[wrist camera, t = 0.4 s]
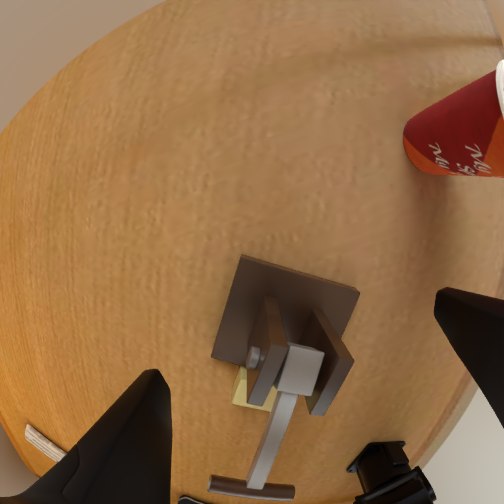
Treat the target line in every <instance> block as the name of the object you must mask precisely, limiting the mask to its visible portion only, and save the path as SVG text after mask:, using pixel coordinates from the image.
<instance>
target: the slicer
mask: <svg viewBox="0 0 504 504" xmlns="http://www.w3.org/2000/svg"><path fill="white" fill-rule="evenodd" d="M359 295H360V292H359V291H358V290H357V289H356V288H354V287H350V286H347V285H344V284H340V283H337V282H333V281H330V280H327V279H323V278H320V277H317V276H313V275H310V274H307V273H303V272H300V271H297V270H293V269H290V268H287V267H283V266H280V265H277V264H273V263H270V262H267V261H263V260H260V259H257V258H253V257H250V256H247V255H243V254H241V257H240V260H239V264H238V267H237V270H236V273H235V277H234V280H233V283H232V287H231V290H230V293H229V296H228V300H227V303H226V306H225V310H224V313H223V316H222V320H221V323H220V326H219V330H218V333H217V336H216V340H215V343H214V346H213V350H212V354H211V357H212V358H216V359H219V360H223V361H227V362H230V363H234V364H238V365H242V366H246V368H247V395H246V403H247V404H251V405H256V406H261V407H262V406H263V404H264V402H265V400H266V398H267V396H268V394H269V392H270V389H271V387H272V385H273V383H274V381H275V378H276V376H277V374H278V372H279V369H280V367H281V365H282V363H283V360H284V358H285V356H286V353H287V351H288V349H289V347H288V343H287V342H290V343H294V344H299V345H303V346H308V347H312V348H314V349H316V350H319V351H321V352H324V357H323V360H322V364H321V367H320V370H319V374H318V377H317V380H316V383H315V386H314V389H313V392H312V395H311V396H305V395H304V396H305V400H306V403H307V407H308V411H309V414H310V415H318V416H324V414H325V413H326V411H327V409H328V408H329V406H330V404H331V403H332V401H333V399H334V398H335V396H336V394H337V392H338V391H339V389H340V387H341V385H342V384H343V382H344V380H345V378H346V376H347V375H348V373H349V371H350V369H351V367H352V365H353V363H354V359H353V358H352V356H351V354H350V353H349V351H348V349H347V348H346V346H345V345H344V343H343V341H342V340H341V337H342V335H343V332H344V330H345V328H346V326H347V323H348V321H349V319H350V317H351V314H352V312H353V309H354V307H355V305H356V302H357V300H358V297H359Z"/></svg>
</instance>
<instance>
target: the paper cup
mask: <svg viewBox="0 0 504 504" xmlns="http://www.w3.org/2000/svg"><path fill="white" fill-rule="evenodd" d="M403 141H404V147H405V150H406V153H407V155H408V157H409V159H410V160H411V162H412V163H413V164H414V165H415V166H416V167H417V168H418V169H419V170H421V171H422V172H425V173H428V174H437V175H462V176H484V177H500V178H504V60H502V61H500V62H499V64H498V66H497V69H496V70H494V71H493V72H491V73H489V74H487V75H485V76H483V77H481V78H480V79H478V80H476V81H474V82H472V83H470V84H469V85H467V86H465V87H463V88H461V89H460V90H458V91H456V92H454V93H452V94H451V95H449V96H447V97H445V98H444V99H442V100H440V101H439V102H437V103H435V104H433V105H432V106H430V107H428V108H427V109H425V110H423V111H422V112H420V113H419V114H417V115H415V116H414V117H413V118H411V119H410V120H409V121H408V122H407V124H406V126H405V129H404V133H403Z"/></svg>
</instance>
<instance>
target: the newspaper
mask: <svg viewBox="0 0 504 504" xmlns="http://www.w3.org/2000/svg"><path fill="white" fill-rule="evenodd" d="M25 436H26V439H27V440H28V441H29V442H31V443H32V444H33V445H34V446H36V447H37V448H38V449H39V450H41V451H42V452H43V453H45V454H46V455H47V456H49V457H50V458H51V459H53V460H54V461H56V462H57V463H58V462H59V461H60V460H61V459H62V458H63V457H64V456H65V455H66V454H67V453H66V452H65V451H63V450H62V449H60V448H59V447H58V446H56V445H55V444H53V443H52V442H51V441H49V440H48V439H47V438H46V437H44V436H43V435H42V434H40V433H39V432H38V431H37V430H35V429H34V428H33V427H32V426H31V425H29V424H28V425H27V426H26V430H25Z"/></svg>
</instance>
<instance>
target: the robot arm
mask: <svg viewBox="0 0 504 504" xmlns="http://www.w3.org/2000/svg"><path fill="white" fill-rule="evenodd" d="M434 316H435V318H436V320H437V322H438V323H439V325H440V327H441V328H442V330H443V332H444V333H445V335H446V337H447V338H448V340H449V342H450V344H451V345H452V347H453V349H454V350H455V352H456V353H457V355H458V356H459V358H460V359H461V361H462V362H463V363H464V365H465V366H466V368H467V369H468V371H469V372H470V374H471V375H472V377H473V378H474V380H475V381H476V383H477V384H478V386H479V388H480V389H481V390H482V392H483V394H484V395H485V397H486V399H487V400H488V402H489V404H490V405H491V407H492V409H493V410H494V412H495V414H496V416H497V417H498V419H499V421H500V423H501V425H502V426H503V428H504V300H501V299H497V298H493V297H489V296H484V295H480V294H476V293H472V292H467V291H463V290H459V289H454V288H450V287H445V288H443V289H441V290H439V291H438V292H437V293H436V299H435V306H434ZM405 444H406V443H405V441H395V442H372V443H369V444H368V445H367V446H366V448H365V449H364V450H363V451H362V452H361V454H360V455H359V456H358V457H357V458H356V459H355V461H354V462H353V463H352V464H351V465H350V466H349V467H348V468H347V472H348V473H354V472H357V475H358V477H359V480H360V483H361V486H362V489H363V492H364V494H362V495H360V496H359V495H358V496H356V497H355V500H356V501H354V502H353V504H433V501H435V500H436V495H435V493H434V491H433V488H432V487H431V485H430V483H429V481H428V480H427V478H426V477H425V475H424V474H423V472H422V470H421V469H420V467H419V466H416V467H415V468H414V469H412V470H411V468H410V466H409V464H408V463H409V460H408V458H407V456H406V454H405V452H404V451H403V449H402V448H403V447H404V445H405ZM171 455H172V416H171V393H170V388H169V386H168V384H167V383H166V381H165V379H164V378H163V376H162V374H161V373H160V371H159V370H158V369H149V370H145V371H143V372H142V373H141V375H140V376H139V377H138V378H137V379H136V380H135V381H134V382H133V383H132V384H131V385H130V386H129V387H128V389H127V390H126V391H125V392H124V393H123V394H122V395H121V396H120V397H119V398H118V399H117V400H116V401H115V403H114V404H113V405H112V406H111V407H110V408H109V409H108V410H107V411H106V412H105V413H104V414H103V415H102V416H101V418H100V419H99V420H98V421H97V422H96V423H95V424H94V425H93V426H92V427H91V428H90V429H89V430H88V431H87V433H86V434H85V435H84V436H83V437H82V438H81V439H80V440H79V441H78V442H77V444H75V445H74V446H73V447H72V449H71V450H70V451H69V452H68V453H67V454H66V455H65V456H64V457H63V458H62V459H61V460H60V461H59V462H58V463H57V464H56V465H55V466H53V467H52V468H51V469H50V470H49V471H48V472H47V473H46V474H44V475H43V476H42V477H41V478H40V479H39V480H38V481H36V482H35V483H34V484H33V485H32V486H30V487H29V488H28V489H27V490H26V491H24V492H23V493H21V494H19V495H16V496H11V497H0V504H170V485H171Z"/></svg>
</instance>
